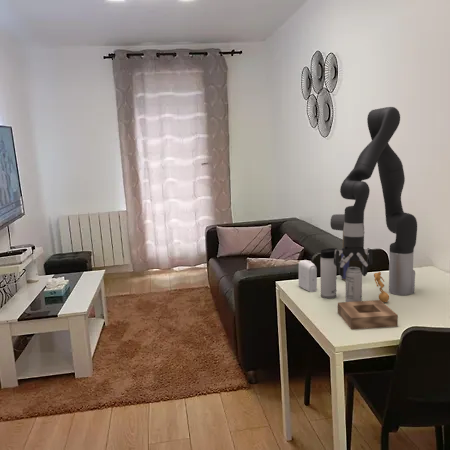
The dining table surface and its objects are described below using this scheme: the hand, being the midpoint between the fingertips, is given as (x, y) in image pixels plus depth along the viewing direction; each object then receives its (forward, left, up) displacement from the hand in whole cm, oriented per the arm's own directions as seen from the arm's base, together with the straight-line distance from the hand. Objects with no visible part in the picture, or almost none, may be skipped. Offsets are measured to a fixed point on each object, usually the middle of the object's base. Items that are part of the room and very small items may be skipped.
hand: (352, 276), depth 187 cm
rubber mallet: (-8, -35, -12) cm, 38 cm away
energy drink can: (0, 0, -12) cm, 12 cm away
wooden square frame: (0, +14, -12) cm, 19 cm away
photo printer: (+12, -25, -12) cm, 30 cm away
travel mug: (+6, -13, -12) cm, 19 cm away
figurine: (-12, -3, -12) cm, 18 cm away
